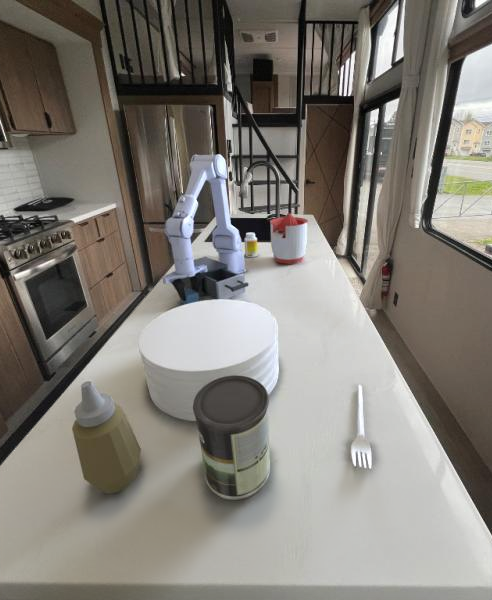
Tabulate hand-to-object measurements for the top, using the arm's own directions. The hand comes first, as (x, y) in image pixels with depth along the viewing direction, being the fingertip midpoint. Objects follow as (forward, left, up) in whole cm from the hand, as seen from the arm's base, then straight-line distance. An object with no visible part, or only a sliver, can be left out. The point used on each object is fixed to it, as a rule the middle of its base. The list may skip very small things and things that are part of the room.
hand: (189, 298), depth 104 cm
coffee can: (+26, +58, -2) cm, 64 cm away
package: (0, 0, -1) cm, 1 cm away
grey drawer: (-11, +5, -1) cm, 12 cm away
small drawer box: (-11, -8, -2) cm, 14 cm away
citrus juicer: (-51, -5, -2) cm, 51 cm away
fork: (+5, +67, -2) cm, 67 cm away
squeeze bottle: (+40, +46, -2) cm, 61 cm away
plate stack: (+15, +36, -2) cm, 39 cm away
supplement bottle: (-45, -22, -2) cm, 50 cm away
